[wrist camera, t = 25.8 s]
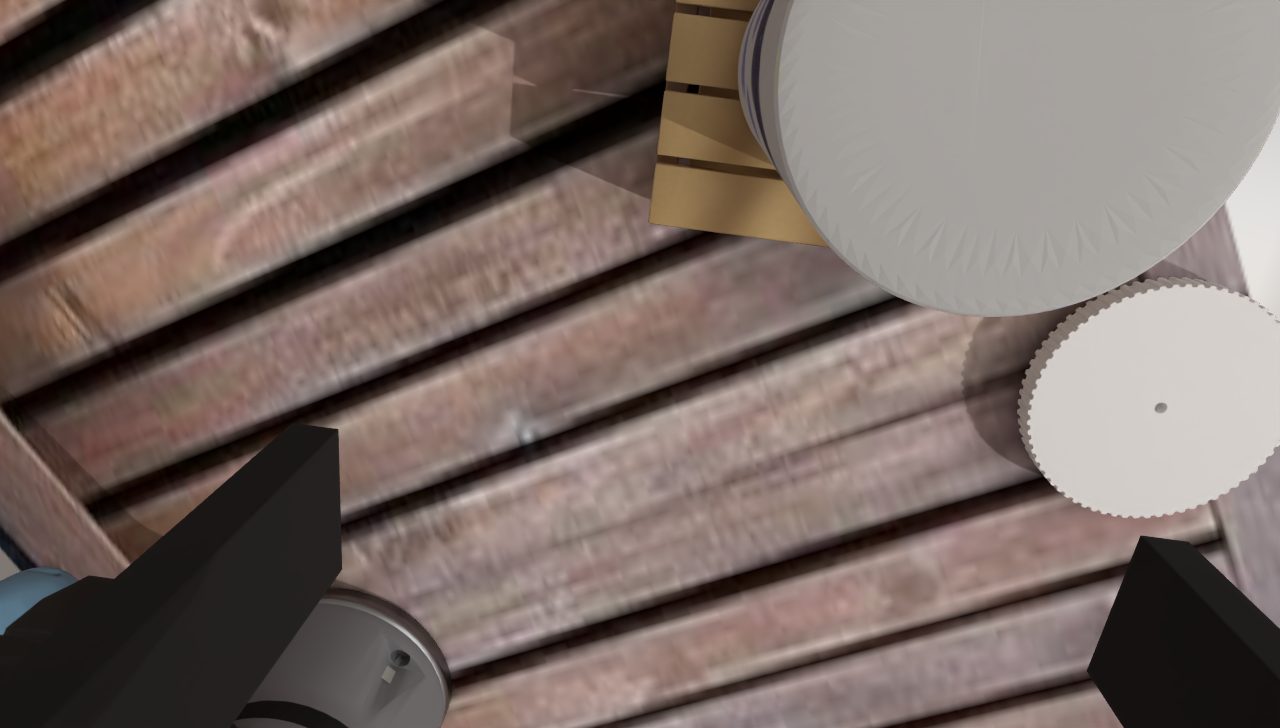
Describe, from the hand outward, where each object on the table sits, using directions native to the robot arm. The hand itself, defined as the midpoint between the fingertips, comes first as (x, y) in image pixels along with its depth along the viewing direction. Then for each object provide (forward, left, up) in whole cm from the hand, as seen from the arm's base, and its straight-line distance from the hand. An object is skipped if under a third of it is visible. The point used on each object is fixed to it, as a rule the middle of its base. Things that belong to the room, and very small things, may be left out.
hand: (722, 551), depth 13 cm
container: (+5, +8, -26) cm, 28 cm away
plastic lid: (+26, -7, -33) cm, 43 cm away
